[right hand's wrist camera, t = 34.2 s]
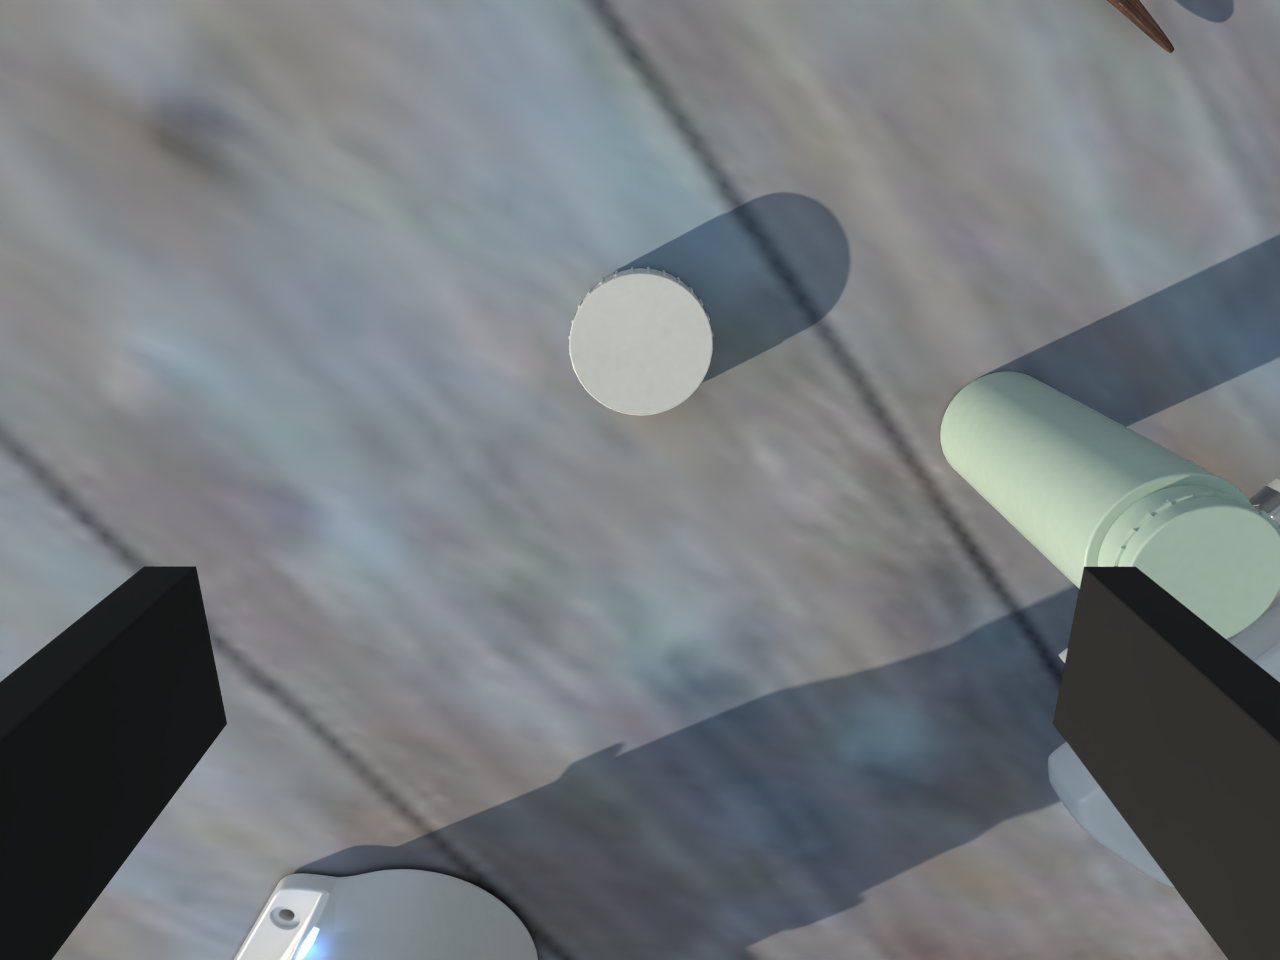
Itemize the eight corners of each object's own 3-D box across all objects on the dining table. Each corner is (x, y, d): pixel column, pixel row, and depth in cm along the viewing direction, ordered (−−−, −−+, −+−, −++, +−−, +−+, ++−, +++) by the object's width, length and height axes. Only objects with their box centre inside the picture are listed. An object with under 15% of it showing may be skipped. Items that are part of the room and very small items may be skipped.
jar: (993, 504, 40) (1188, 689, 26) (915, 435, 39) (1074, 588, 25) (1081, 421, 39) (1338, 568, 25) (1003, 346, 38) (1225, 455, 23)
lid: (711, 265, 37) (715, 270, 35) (709, 404, 39) (713, 416, 37) (568, 267, 37) (564, 272, 35) (574, 406, 39) (570, 418, 37)
